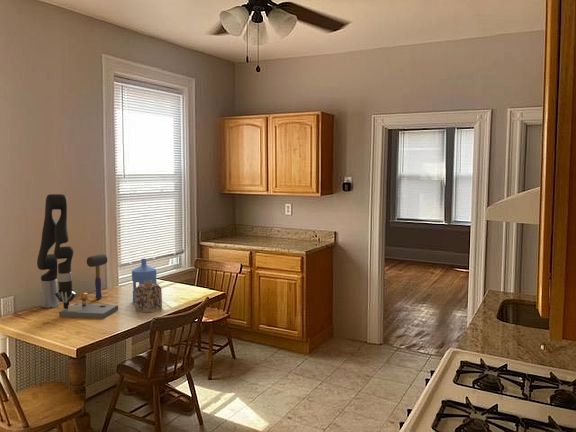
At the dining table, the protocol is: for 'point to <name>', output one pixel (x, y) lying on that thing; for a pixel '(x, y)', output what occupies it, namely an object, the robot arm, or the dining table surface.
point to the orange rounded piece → (83, 298)
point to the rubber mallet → (97, 270)
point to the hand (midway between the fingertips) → (66, 308)
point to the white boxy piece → (74, 307)
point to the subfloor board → (91, 311)
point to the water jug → (143, 275)
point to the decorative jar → (148, 297)
